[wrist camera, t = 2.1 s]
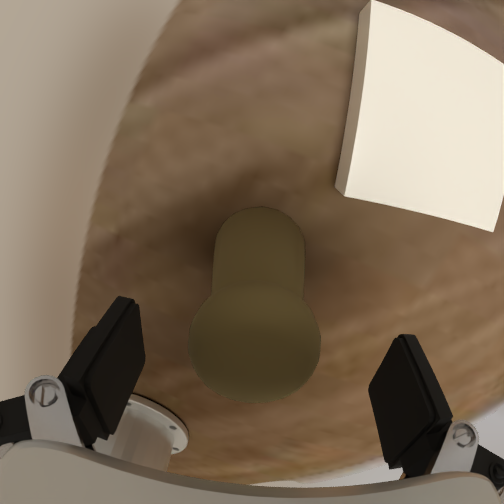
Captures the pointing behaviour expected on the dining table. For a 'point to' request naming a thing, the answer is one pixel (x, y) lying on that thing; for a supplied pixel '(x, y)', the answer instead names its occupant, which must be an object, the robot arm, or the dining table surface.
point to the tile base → (423, 120)
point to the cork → (256, 311)
